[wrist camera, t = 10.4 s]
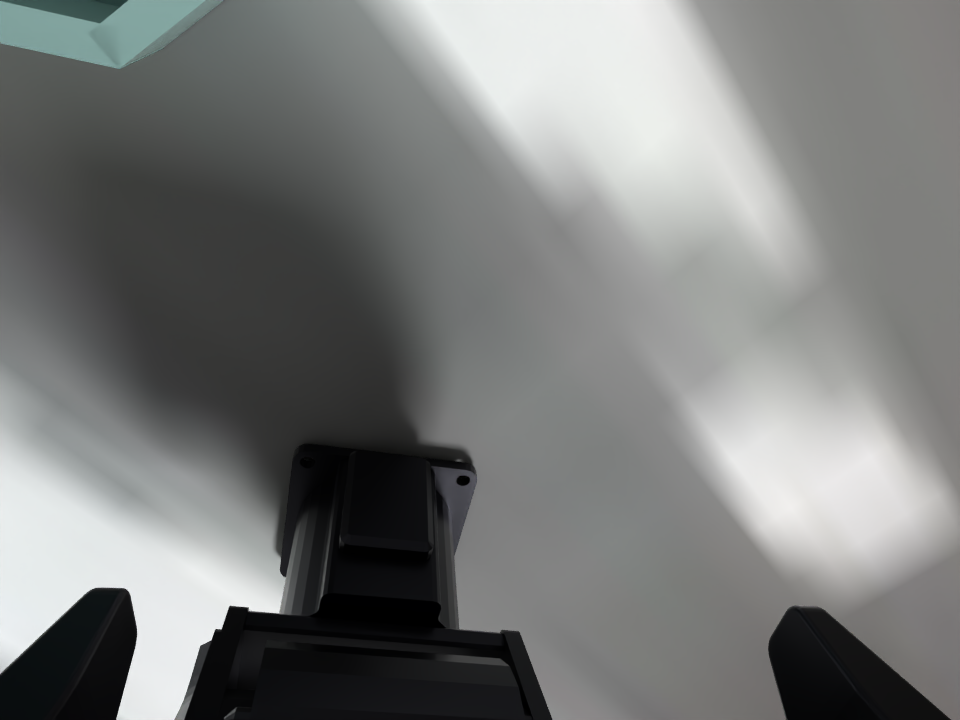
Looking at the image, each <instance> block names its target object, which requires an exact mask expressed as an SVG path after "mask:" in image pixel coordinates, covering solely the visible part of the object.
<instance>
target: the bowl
mask: <svg viewBox="0 0 960 720" xmlns="http://www.w3.org/2000/svg"><path fill="white" fill-rule="evenodd" d="M222 1H224V0H0V43H2V44H6V45H11V46H16V47H20V48H25V49H30V50H34V51H39V52H43V53H48V54H53V55H57V56H62V57H67V58H71V59H76V60H81V61H85V62H90V63H95V64H99V65H104V66H108V67H113V68H118V69H121V68H123V67H125V66H127V65H129V64H132V63H134V62H136V61H138V60H140V59H142V58H144V57H146V56H148V55H151V54H153V53H155V52H157V51H159V50H161V49H163V48H164V47H165V46H166V45H168V44H169V43H170V42H172V41H173V40H174V39H175V38H177V37H178V36H179V35H180V34H182V33H183V32H184V31H186V30H187V29H188V28H189V27H191V26H192V25H193V24H194V23H196V22H197V21H198V20H200V19H201V18H202V17H203V16H205V15H206V14H207V13H208V12H210V11H211V10H212V9H214V8H215V7H216V6H217V5H219V4H220V3H221V2H222Z"/></svg>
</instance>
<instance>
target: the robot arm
mask: <svg viewBox="0 0 960 720" xmlns="http://www.w3.org/2000/svg"><path fill="white" fill-rule="evenodd" d="M304 457H310V458H313V459H314V460H310V461H308V460H305V459H304ZM461 475H466V476H468V477H466V478H458V477H459V476H461ZM476 483H477V475H476V470H475V468H474V467H473V466H472V465H471V464H468V463H463V462H455V461H447V460H438V459H430V458H422V457H414V456H405V455H397V454H389V453H381V452H372V451H364V450H356V449H348V448H340V447H331V446H323V445H315V444H304V445H301V446H299V447H298V448H297V449H296V450H295V453H294V457H293V462H292V471H291V479H290V488H289V497H288V505H287V514H286V522H285V531H284V540H283V548H282V557H281V565H280V572H281V574H282V575H283V576H284V577H286V581H285V586H284V591H283V596H282V602H281V607H280V612H279V614H277V613H265V612H254V611H249V608H247V607H236V606H229V609H228V612H227V615H226V618H225V621H224V624H223V627H222V630H220V629H216V630H215V632H214V635H213V638H212V641H209V642H207V643H205V644H203V645H201V646H200V649H199V652H198V656H197V659H196V663H195V666H194V670H193V673H192V676H191V680H190V683H189V686H188V689H187V692H186V695H185V698H184V701H183V703H182V705H181V708H180V710H179V712H178V714H177V716H176V718H175V720H552V717H551V715H550V712H549V709H548V707H547V704H546V701H545V699H544V696H543V693H542V691H541V688H540V685H539V683H538V680H537V677H536V675H535V672H534V669H533V667H532V664H531V661H530V659H529V656H528V653H527V651H526V648H525V645H524V643H523V640H522V637H521V635H520V632H519V631H508V630H501V632H500V633H495V632H483V631H472V630H460V629H459V619H458V605H457V591H456V577H455V563H454V555H455V552H456V549H457V545H458V542H459V539H460V535H461V532H462V529H463V526H464V522H465V519H466V516H467V512H468V509H469V506H470V503H471V499H472V496H473V493H474V489H475V486H476ZM136 640H137V626H136V621H135V616H134V611H133V606H132V601H131V596H130V593H129V592H128V591H127V590H126V589H124V588H94V589H92V590H90V591H88V592H87V593H86V594H85V595H84V596H83V597H82V598H80V599H79V600H78V601H77V602H76V603H75V604H74V605H73V606H72V607H71V608H70V609H69V610H68V611H67V612H66V613H65V614H63V615H62V616H61V617H60V618H59V619H58V620H57V621H56V622H55V623H54V624H53V625H52V626H51V627H50V628H49V629H47V630H46V631H45V632H44V633H43V634H42V635H41V636H40V637H39V638H38V639H37V640H36V641H35V642H34V643H33V644H32V645H30V646H29V647H28V648H27V649H26V650H25V651H24V652H23V653H22V654H21V655H20V656H19V657H18V658H17V659H16V660H15V661H13V662H12V663H11V664H10V665H9V666H8V667H7V668H6V669H5V670H4V671H3V672H2V673H1V674H0V720H116V717H117V714H118V710H119V706H120V702H121V699H122V695H123V691H124V687H125V684H126V680H127V676H128V672H129V669H130V665H131V661H132V657H133V654H134V650H135V646H136ZM768 651H769V658H770V662H771V665H772V669H773V673H774V676H775V680H776V684H777V688H778V691H779V695H780V699H781V702H782V706H783V710H784V714H785V717H786V720H951V719H950V718H948V717H947V716H946V715H945V714H944V713H943V712H942V711H940V710H939V709H938V708H937V707H936V706H935V705H933V704H932V703H931V702H930V701H929V700H928V699H927V698H925V697H924V696H923V695H922V694H921V693H920V692H919V691H917V690H916V689H915V688H914V687H913V686H912V685H910V684H909V683H908V682H907V681H906V680H905V679H904V678H902V677H901V676H900V675H899V674H898V673H897V672H895V671H894V670H893V669H892V668H891V667H890V666H889V665H887V664H886V663H885V662H884V661H883V660H882V659H881V658H879V657H878V656H877V655H876V654H875V653H874V652H872V651H871V650H870V649H869V648H868V647H867V646H866V645H864V644H863V643H862V642H861V641H860V640H859V639H857V638H856V637H855V636H854V635H853V634H852V633H851V632H849V631H848V630H847V629H846V628H845V627H844V626H843V625H841V624H840V623H839V622H838V621H837V620H836V619H834V618H833V617H832V616H831V615H830V614H829V613H828V612H826V611H825V610H824V609H822V608H820V607H817V606H799V605H795V606H792V607H790V608H789V609H788V610H787V611H786V613H785V614H784V616H783V618H782V619H781V621H780V622H779V624H778V626H777V627H776V629H775V631H774V632H773V634H772V636H771V637H770V640H769V646H768Z"/></svg>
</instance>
